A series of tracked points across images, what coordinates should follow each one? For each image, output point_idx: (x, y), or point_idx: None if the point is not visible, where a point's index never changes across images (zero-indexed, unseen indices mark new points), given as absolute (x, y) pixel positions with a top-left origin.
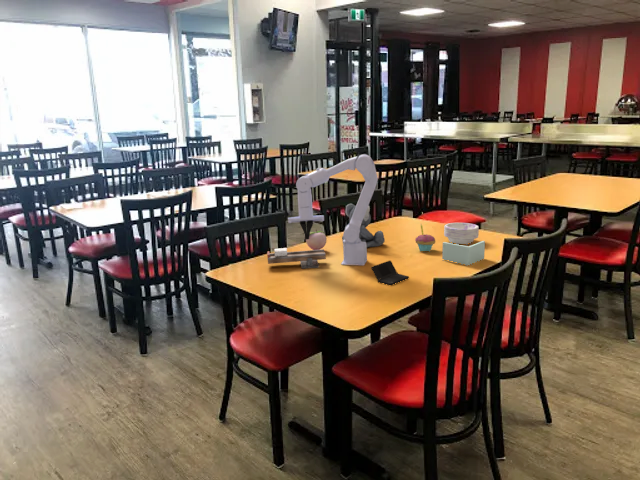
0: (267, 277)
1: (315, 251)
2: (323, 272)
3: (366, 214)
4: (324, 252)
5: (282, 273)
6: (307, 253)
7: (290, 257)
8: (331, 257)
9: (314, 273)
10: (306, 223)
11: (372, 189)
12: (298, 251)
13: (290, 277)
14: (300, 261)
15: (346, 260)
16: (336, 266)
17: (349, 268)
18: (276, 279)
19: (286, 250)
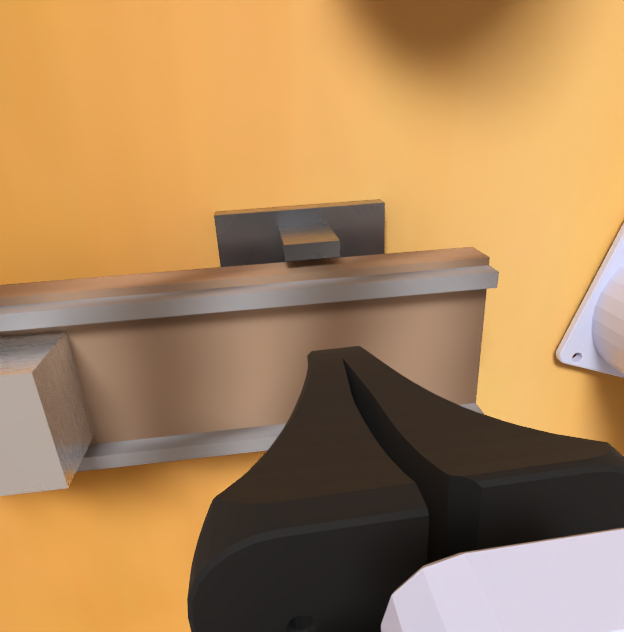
0: (4, 577)
1: (395, 291)
2: None
3: None
4: (483, 319)
5: (100, 509)
6: (303, 321)
7: (129, 457)
8: (531, 112)
9: None
10: (427, 478)
11: None
12: (197, 305)
13: (176, 577)
14: (220, 257)
15: (615, 366)
16: (509, 385)
17: (581, 432)
18: (84, 607)
19: (60, 483)
